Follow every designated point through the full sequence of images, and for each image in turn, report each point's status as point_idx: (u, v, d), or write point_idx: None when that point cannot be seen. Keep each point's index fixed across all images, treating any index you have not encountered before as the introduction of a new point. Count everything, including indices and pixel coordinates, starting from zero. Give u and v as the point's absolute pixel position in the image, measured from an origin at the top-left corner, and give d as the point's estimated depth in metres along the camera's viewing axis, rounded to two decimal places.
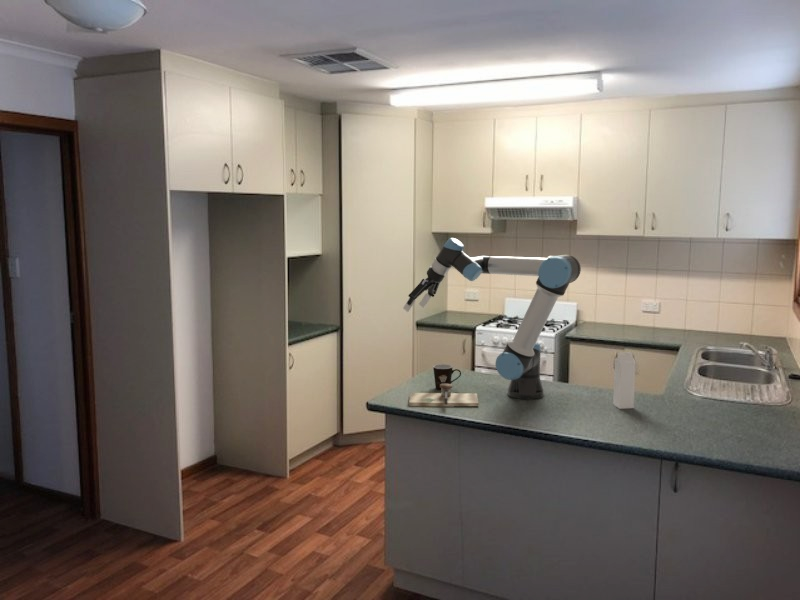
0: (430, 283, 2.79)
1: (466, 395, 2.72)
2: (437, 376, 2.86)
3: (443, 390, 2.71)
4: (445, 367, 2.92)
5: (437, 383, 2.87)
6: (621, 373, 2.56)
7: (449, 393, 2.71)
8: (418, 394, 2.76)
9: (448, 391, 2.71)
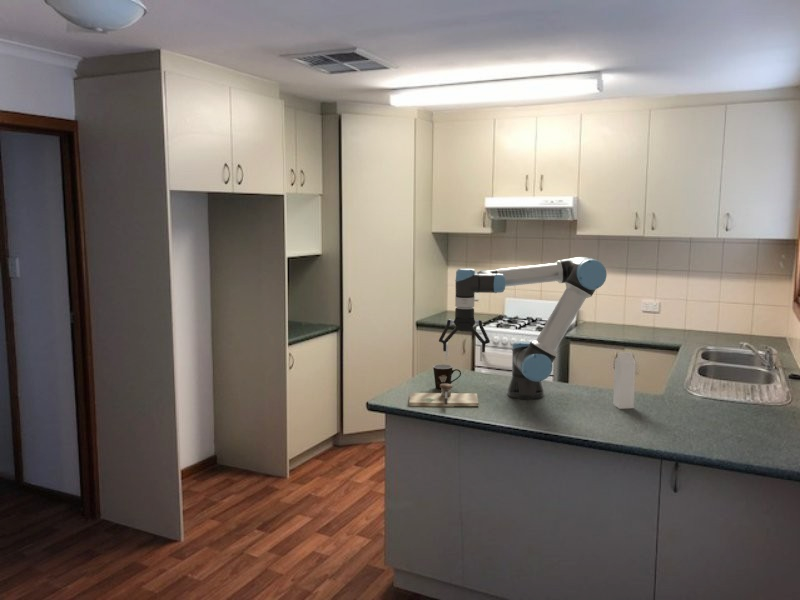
0: None
1: (466, 395, 2.72)
2: (437, 376, 2.86)
3: (443, 390, 2.71)
4: (445, 367, 2.92)
5: (437, 383, 2.87)
6: (621, 373, 2.56)
7: (449, 393, 2.71)
8: (418, 394, 2.76)
9: (448, 391, 2.71)
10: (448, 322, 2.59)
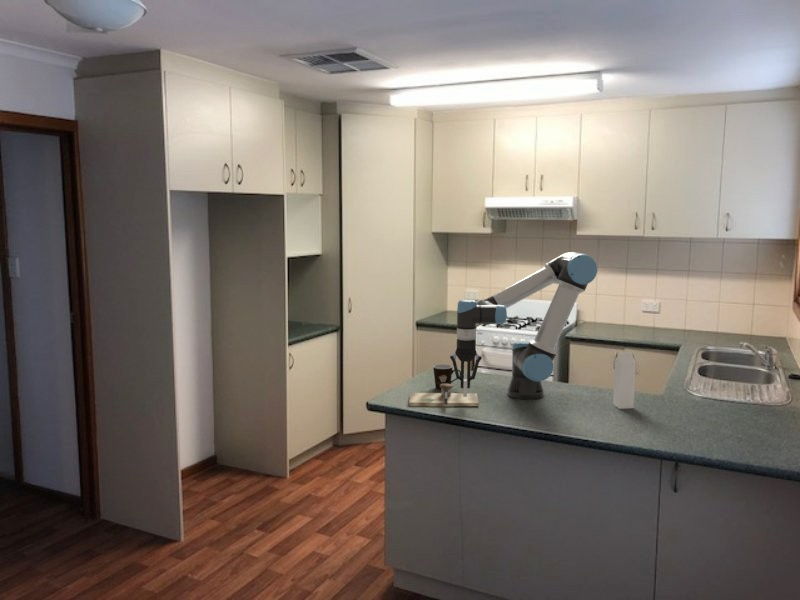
0: None
1: None
2: (437, 376, 2.86)
3: (443, 390, 2.71)
4: (445, 367, 2.92)
5: (437, 383, 2.87)
6: (621, 373, 2.56)
7: (449, 393, 2.71)
8: (418, 394, 2.76)
9: (448, 391, 2.71)
10: (452, 358, 2.60)
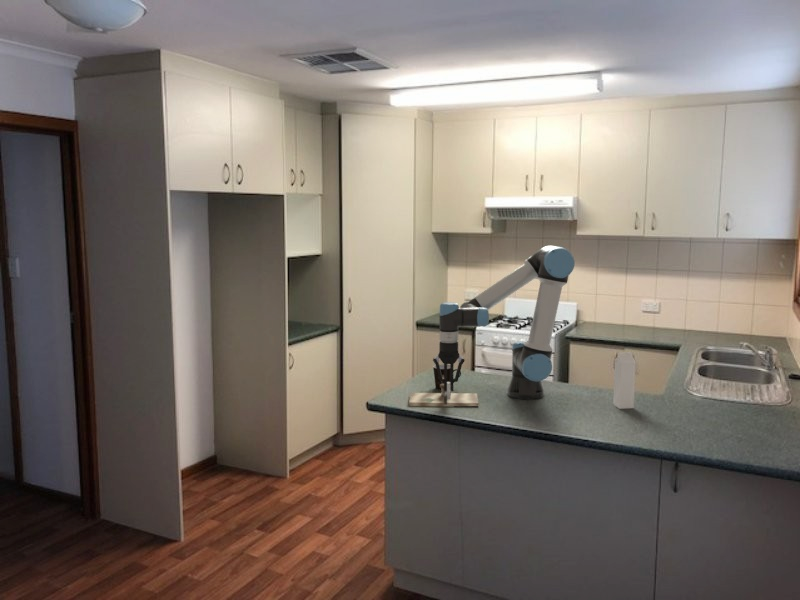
0: None
1: (466, 395, 2.72)
2: (437, 376, 2.86)
3: (443, 390, 2.71)
4: None
5: (437, 383, 2.87)
6: (621, 373, 2.56)
7: None
8: (418, 394, 2.76)
9: None
10: (435, 361, 2.61)
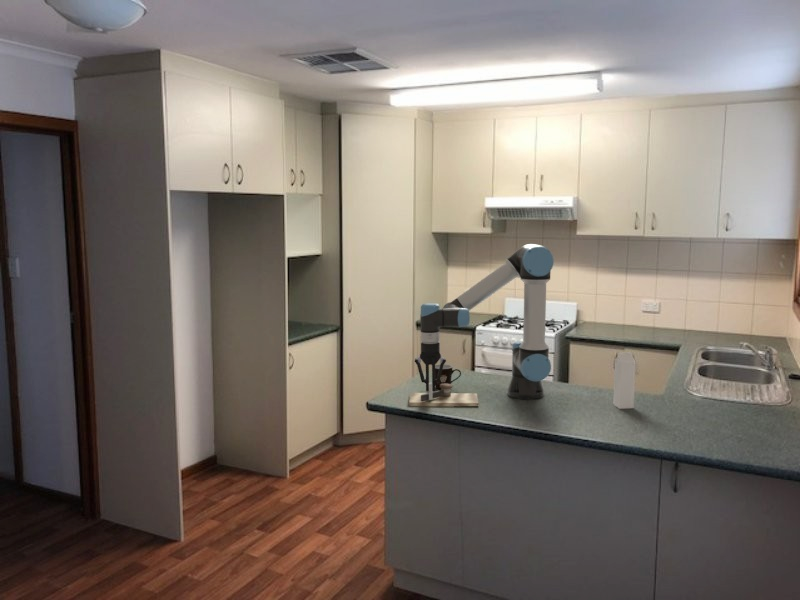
0: None
1: (466, 395, 2.72)
2: None
3: (441, 389, 2.72)
4: (445, 367, 2.92)
5: (437, 383, 2.87)
6: (621, 373, 2.56)
7: (446, 393, 2.71)
8: (418, 394, 2.76)
9: (444, 391, 2.71)
10: (416, 362, 2.61)
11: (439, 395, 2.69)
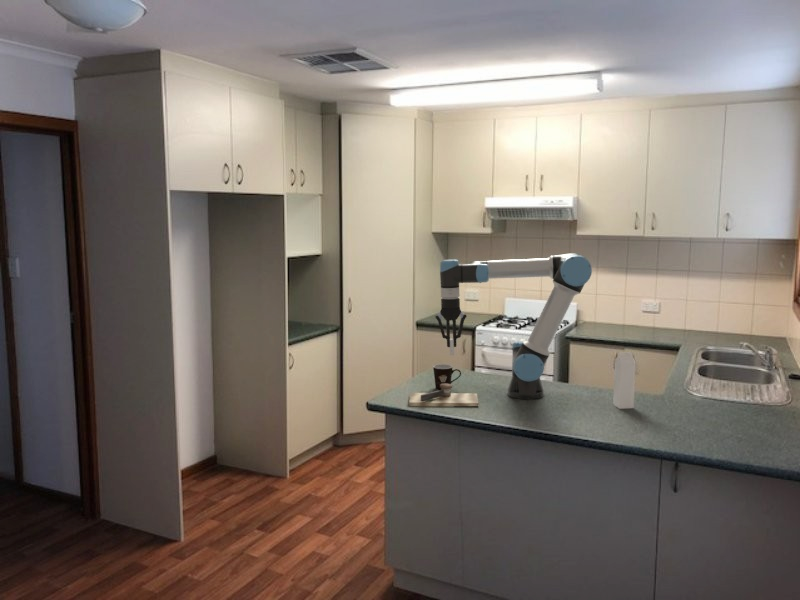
0: None
1: (466, 395, 2.72)
2: (437, 376, 2.86)
3: (441, 389, 2.72)
4: (445, 367, 2.92)
5: (437, 383, 2.87)
6: (621, 373, 2.56)
7: (446, 393, 2.71)
8: (418, 394, 2.76)
9: (444, 391, 2.71)
10: (437, 318, 2.64)
11: (439, 395, 2.69)
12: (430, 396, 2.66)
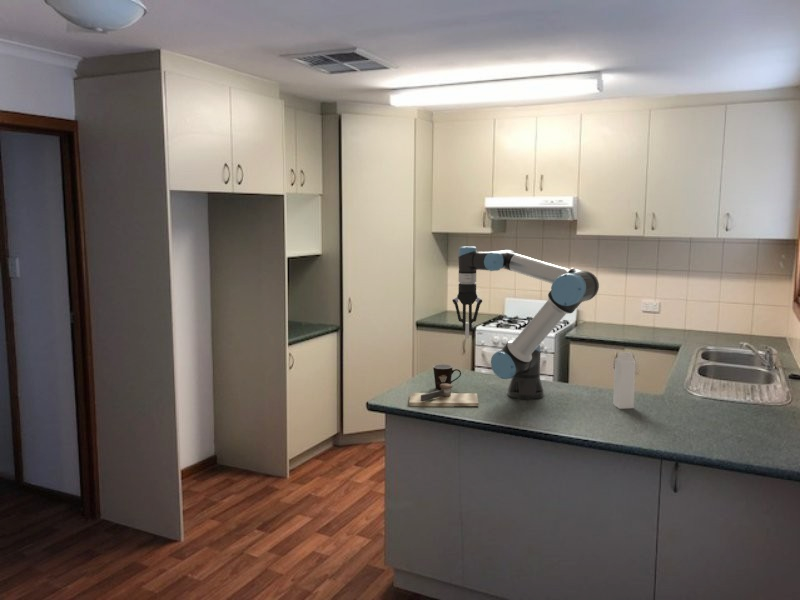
0: None
1: (466, 395, 2.72)
2: (437, 376, 2.86)
3: (441, 389, 2.72)
4: (445, 367, 2.92)
5: (437, 383, 2.87)
6: (621, 373, 2.56)
7: (446, 393, 2.71)
8: (418, 394, 2.76)
9: (444, 391, 2.71)
10: (454, 302, 2.76)
11: (439, 395, 2.69)
12: (430, 396, 2.66)
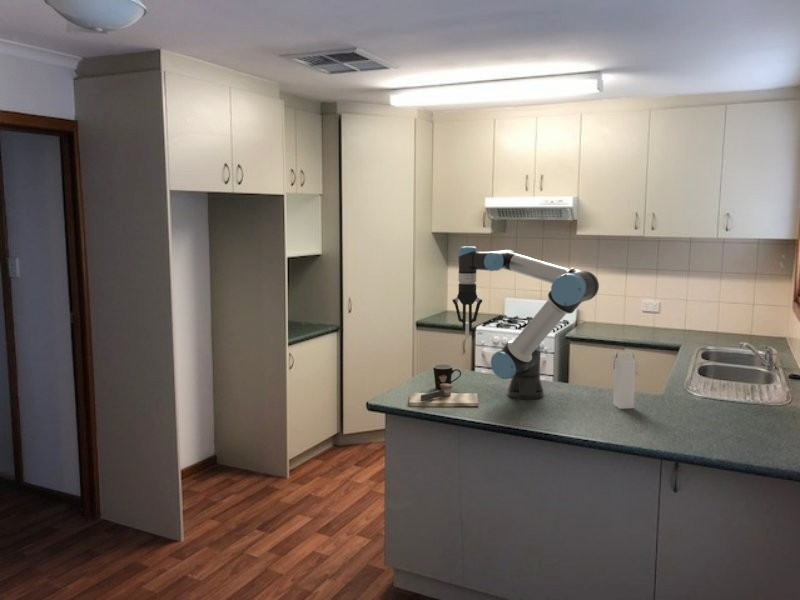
0: None
1: (466, 395, 2.72)
2: (437, 376, 2.86)
3: (441, 389, 2.72)
4: (445, 367, 2.92)
5: (437, 383, 2.87)
6: (621, 373, 2.56)
7: (446, 393, 2.71)
8: (418, 394, 2.76)
9: (444, 391, 2.71)
10: (454, 302, 2.76)
11: (439, 395, 2.69)
12: (430, 396, 2.66)
